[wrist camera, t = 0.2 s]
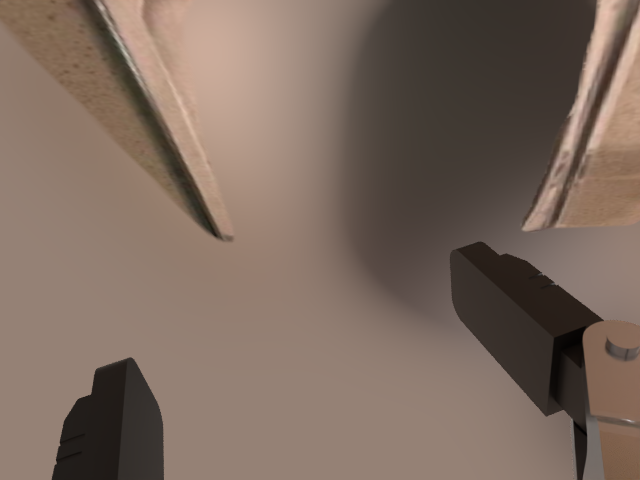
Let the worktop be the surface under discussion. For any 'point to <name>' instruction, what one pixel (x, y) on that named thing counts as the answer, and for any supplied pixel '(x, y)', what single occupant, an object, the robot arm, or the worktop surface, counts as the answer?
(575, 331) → the robot arm
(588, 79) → the worktop surface
